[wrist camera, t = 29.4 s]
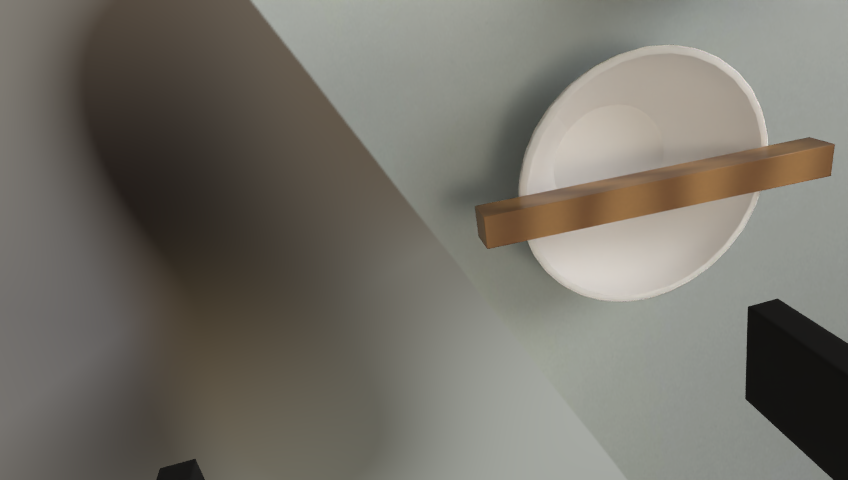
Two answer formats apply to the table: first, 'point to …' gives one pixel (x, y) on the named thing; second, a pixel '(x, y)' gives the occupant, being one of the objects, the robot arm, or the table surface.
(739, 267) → the table surface
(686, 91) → the bowl
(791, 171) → the stirring stick
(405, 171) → the table surface
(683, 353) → the table surface
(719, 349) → the table surface
